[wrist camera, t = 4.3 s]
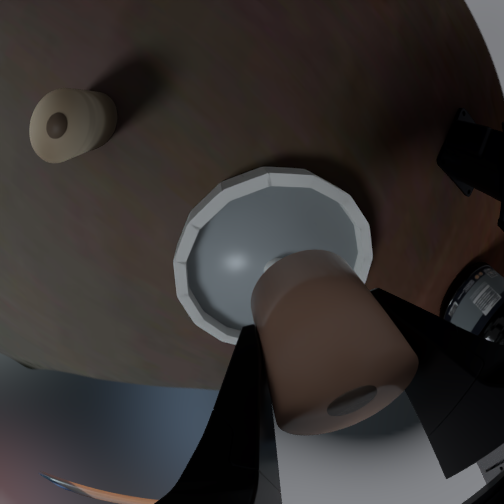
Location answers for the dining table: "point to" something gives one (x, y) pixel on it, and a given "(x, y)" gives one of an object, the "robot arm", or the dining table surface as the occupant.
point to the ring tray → (260, 240)
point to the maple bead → (71, 123)
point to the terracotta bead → (326, 344)
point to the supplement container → (477, 302)
